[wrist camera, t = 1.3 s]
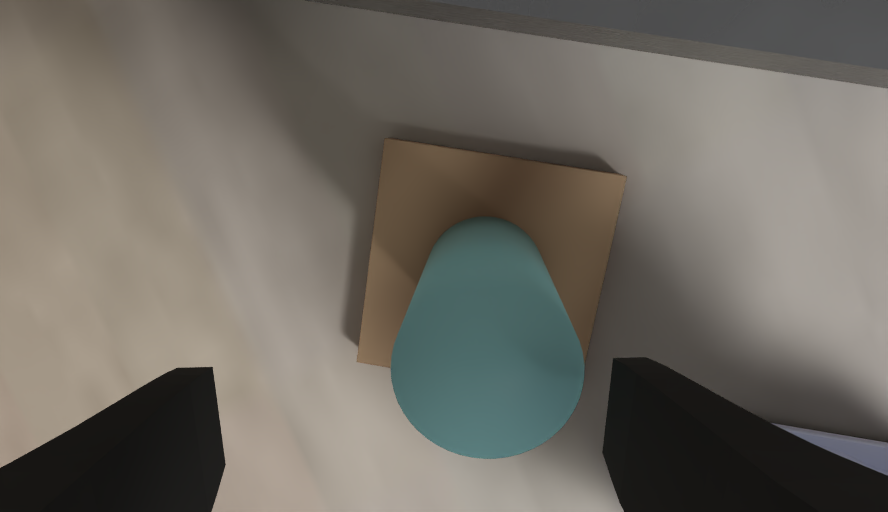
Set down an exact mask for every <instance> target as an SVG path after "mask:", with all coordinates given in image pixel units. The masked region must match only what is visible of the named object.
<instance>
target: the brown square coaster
mask: <svg viewBox="0 0 888 512" xmlns="http://www.w3.org/2000/svg"><path fill="white" fill-rule="evenodd" d="M626 178H627V176H624V175H621V174H617V173H610V172H604V171H598V170H591V169H585V168H578V167H572V166H566V165H559V164H553V163H547V162H540V161H534V160H528V159H521V158H515V157H509V156H502V155H496V154H489V153H483V152H477V151H470V150H464V149H458V148H451V147H445V146H439V145H432V144H426V143H420V142H413V141H407V140H400V139H394V138H385V139H384V147H383V155H382V163H381V171H380V179H379V187H378V195H377V203H376V211H375V219H374V227H373V235H372V243H371V251H370V259H369V267H368V275H367V283H366V291H365V299H364V307H363V315H362V323H361V331H360V339H359V347H358V355H357V362H360V363H365V364H371V365H377V366H383V367H389V368H391V356H392V351H393V347H394V343H395V340H396V338H397V335H398V332H399V330H400V327H401V325H402V322H403V320H404V317H405V315H406V312H407V310H408V307H409V305H410V302H411V300H412V297H413V295H414V292H415V290H416V287H417V285H418V282H419V280H420V277H421V275H422V272H423V270H424V267H425V265H426V263H427V260H428V258H429V255H430V253H431V250H432V248H433V246H434V244H435V243H436V242H437V240H438V239H439V237H440V236H441V235H442V234H443V233H444V232H445V231H447V230H448V229H449V228H450V227H452V226H453V225H455V224H457V223H459V222H461V221H463V220H466V219H470V218H474V217H485V216H487V217H496V218H500V219H504V220H506V221H509V222H511V223H513V224H515V225H517V226H518V227H520V228H521V229H522V230H524V231H525V232H526V233H527V234H528V235H529V236H530V238H531V239H532V240H533V241H534V243H535V245H536V246H537V248H538V250H539V252H540V255H541V257H542V259H543V261H544V264H545V266H546V268H547V270H548V272H549V275H550V277H551V279H552V281H553V283H554V286H555V288H556V290H557V292H558V295H559V297H560V299H561V301H562V303H563V306H564V308H565V310H566V312H567V314H568V317H569V319H570V321H571V323H572V325H573V328H574V330H575V332H576V334H577V337H578V339H579V341H580V345H581V348H582V352H583V358H584V365H585V361H586V356H587V352H588V347H589V343H590V338H591V334H592V329H593V325H594V321H595V316H596V312H597V307H598V303H599V298H600V294H601V289H602V285H603V280H604V276H605V272H606V267H607V263H608V258H609V254H610V249H611V245H612V240H613V236H614V232H615V227H616V223H617V218H618V214H619V209H620V205H621V200H622V196H623V192H624V187H625V183H626Z"/></svg>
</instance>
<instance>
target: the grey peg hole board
mask: <svg viewBox="0 0 888 512" xmlns="http://www.w3.org/2000/svg"><path fill="white" fill-rule="evenodd" d="M307 1H313V2H320V3H327V4H333V5H340V6H346V7H353V8H360V9H366V10H373V11H380V12H386V13H393V14H399V15H406V16H413V17H419V18H426V19H433V20H439V21H446V22H452V23H459V24H466V25H472V26H479V27H485V28H492V29H499V30H505V31H512V32H519V33H525V34H532V35H538V36H545V37H552V38H558V39H565V40H572V41H578V42H585V43H591V44H598V45H605V46H611V47H618V48H625V49H631V50H638V51H644V52H651V53H658V54H664V55H671V56H678V57H684V58H691V59H697V60H704V61H711V62H717V63H724V64H730V65H737V66H744V67H750V68H757V69H764V70H770V71H777V72H783V73H790V74H797V75H803V76H810V77H817V78H823V79H830V80H836V81H843V82H850V83H856V84H863V85H870V86H876V87H883V88H888V0H307Z"/></svg>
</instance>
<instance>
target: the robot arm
mask: <svg viewBox="0 0 888 512" xmlns="http://www.w3.org/2000/svg"><path fill="white" fill-rule="evenodd" d="M603 455H604V458H605V461H606V464H607V467H608V470H609V474H610V477H611V480H612V482H613V485H614V488H615V491H616V493H617V496H618V499H619V502H620V504H621V506H622V508H623V510H624V512H888V443H887V442H881V441H875V440H869V439H863V438H857V437H851V436H845V435H839V434H833V433H827V432H821V431H815V430H810V429H804V428H798V427H792V426H786V425H780V424H774V423H770V422H768V421H766V420H764V419H762V418H760V417H758V416H756V415H754V414H752V413H750V412H748V411H747V410H745V409H743V408H741V407H739V406H737V405H735V404H734V403H732V402H730V401H728V400H726V399H724V398H723V397H721V396H719V395H717V394H715V393H714V392H712V391H710V390H708V389H706V388H705V387H703V386H701V385H699V384H697V383H696V382H694V381H692V380H690V379H688V378H687V377H685V376H683V375H681V374H679V373H677V372H675V371H674V370H672V369H670V368H668V367H666V366H664V365H662V364H660V363H658V362H656V361H653V360H651V359H649V358H646V357H643V358H613V365H612V374H611V383H610V391H609V400H608V409H607V418H606V426H605V435H604V444H603ZM225 465H226V464H225V457H224V449H223V442H222V434H221V427H220V419H219V412H218V404H217V397H216V389H215V382H214V374H213V367H195V368H176V369H174V370H172V371H169V372H167V373H165V374H163V375H162V376H160V377H158V378H156V379H154V380H153V381H151V382H149V383H148V384H146V385H144V386H142V387H141V388H139V389H137V390H136V391H134V392H132V393H131V394H129V395H127V396H126V397H124V398H122V399H121V400H119V401H117V402H116V403H114V404H112V405H111V406H109V407H107V408H106V409H104V410H102V411H101V412H99V413H97V414H96V415H94V416H92V417H91V418H89V419H87V420H86V421H84V422H82V423H81V424H79V425H77V426H76V427H74V428H72V429H70V430H68V431H67V432H65V433H63V434H61V435H59V436H58V437H56V438H54V439H52V440H50V441H49V442H47V443H45V444H43V445H41V446H40V447H38V448H36V449H34V450H32V451H31V452H29V453H27V454H25V455H23V456H22V457H20V458H18V459H16V460H14V461H13V462H11V463H9V464H7V465H5V466H3V467H1V468H0V512H211V511H212V508H213V505H214V502H215V499H216V496H217V492H218V489H219V485H220V482H221V478H222V475H223V472H224V468H225Z"/></svg>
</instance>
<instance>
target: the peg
mask: <svg viewBox="0 0 888 512" xmlns="http://www.w3.org/2000/svg"><path fill="white" fill-rule="evenodd" d="M391 379H392V384H393V389H394V392H395V395H396V398H397V401H398V403H399V405H400V407H401V409H402V411H403V413H404V414H405V415H406V417H407V418H408V420H409V421H410V422H411V423H412V425H413V426H414V427H415V428H416V429H417V430H418V431H419V432H420V433H421V434H423V435H424V436H425V437H426V438H427V439H429V440H430V441H432V442H433V443H435V444H436V445H438V446H440V447H442V448H444V449H446V450H448V451H451V452H454V453H456V454H459V455H464V456H468V457H473V458H482V459H496V458H504V457H510V456H514V455H518V454H521V453H524V452H526V451H529V450H531V449H533V448H535V447H537V446H539V445H541V444H542V443H544V442H545V441H547V440H548V439H550V438H551V437H552V436H553V435H554V434H556V433H557V432H558V431H559V430H560V429H561V428H562V427H563V425H564V424H565V423H566V422H567V421H568V419H569V418H570V416H571V414H572V413H573V411H574V410H575V407H576V405H577V403H578V401H579V398H580V395H581V392H582V388H583V382H584V358H583V352H582V348H581V345H580V341H579V339H578V337H577V334H576V332H575V330H574V328H573V325H572V323H571V321H570V319H569V317H568V314H567V312H566V310H565V308H564V306H563V303H562V301H561V299H560V297H559V295H558V292H557V290H556V288H555V286H554V283H553V281H552V279H551V277H550V275H549V272H548V270H547V268H546V266H545V264H544V261H543V259H542V257H541V255H540V252H539V250H538V248H537V246H536V245H535V243H534V241H533V240H532V239H531V238H530V236H529V235H528V234H527V233H526V232H525V231H524V230H522V229H521V228H520V227H518V226H517V225H515V224H513V223H511V222H509V221H506V220H504V219H500V218H496V217H487V216H485V217H474V218H470V219H466V220H463V221H461V222H459V223H457V224H455V225H453V226H452V227H450V228H449V229H448V230H447V231H445V232H444V233H443V234H442V235H441V236H440V237H439V239H438V240H437V242H436V243H435V244H434V246H433V248H432V250H431V253H430V255H429V258H428V260H427V263H426V265H425V267H424V270H423V272H422V275H421V277H420V280H419V282H418V285H417V287H416V290H415V292H414V295H413V297H412V300H411V302H410V305H409V307H408V310H407V312H406V315H405V317H404V320H403V322H402V325H401V327H400V330H399V332H398V335H397V338H396V340H395V343H394V347H393V351H392V356H391Z"/></svg>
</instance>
